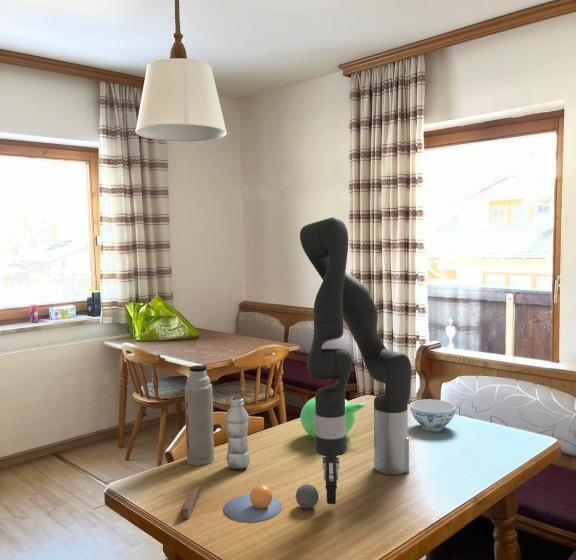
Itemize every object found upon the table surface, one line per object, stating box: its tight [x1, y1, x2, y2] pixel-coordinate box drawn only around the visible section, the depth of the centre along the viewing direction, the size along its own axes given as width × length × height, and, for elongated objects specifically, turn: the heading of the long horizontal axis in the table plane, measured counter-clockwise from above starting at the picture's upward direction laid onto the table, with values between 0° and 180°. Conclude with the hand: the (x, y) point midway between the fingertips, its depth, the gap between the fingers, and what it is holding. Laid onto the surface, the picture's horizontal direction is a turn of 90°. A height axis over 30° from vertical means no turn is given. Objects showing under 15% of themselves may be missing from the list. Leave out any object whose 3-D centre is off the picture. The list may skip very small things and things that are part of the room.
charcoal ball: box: [295, 483, 319, 510], centre depth 137 cm, size 6×6×6 cm
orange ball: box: [249, 483, 274, 509], centre depth 137 cm, size 6×6×6 cm
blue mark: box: [223, 493, 282, 523], centre depth 137 cm, size 14×14×1 cm
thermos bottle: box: [184, 364, 215, 466], centre depth 166 cm, size 8×8×28 cm
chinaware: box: [409, 398, 457, 432], centre depth 191 cm, size 15×15×8 cm
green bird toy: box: [299, 396, 365, 438], centre depth 183 cm, size 18×17×15 cm
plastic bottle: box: [225, 396, 251, 470], centre depth 161 cm, size 6×7×20 cm
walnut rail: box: [181, 485, 201, 520], centre depth 138 cm, size 2×12×2 cm, turn 177°
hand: (331, 502), depth 136 cm, fingers closed
